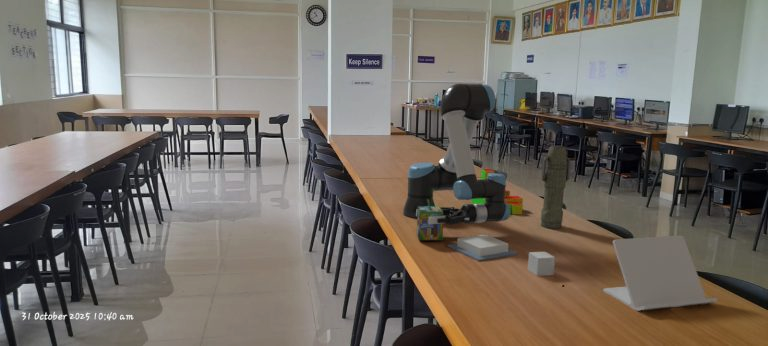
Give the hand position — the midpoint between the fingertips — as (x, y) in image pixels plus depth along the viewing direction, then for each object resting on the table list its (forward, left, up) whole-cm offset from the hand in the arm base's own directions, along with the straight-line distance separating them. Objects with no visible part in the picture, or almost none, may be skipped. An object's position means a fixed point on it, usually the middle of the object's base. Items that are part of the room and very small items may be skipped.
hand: (422, 216), depth 210 cm
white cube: (+47, +16, -9) cm, 50 cm away
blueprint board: (+21, +13, -9) cm, 26 cm away
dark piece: (+7, +63, -9) cm, 64 cm away
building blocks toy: (-28, +64, -10) cm, 70 cm away
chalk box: (+1, +3, -9) cm, 9 cm away
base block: (+21, +13, -9) cm, 26 cm away
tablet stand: (+78, +31, -9) cm, 85 cm away
